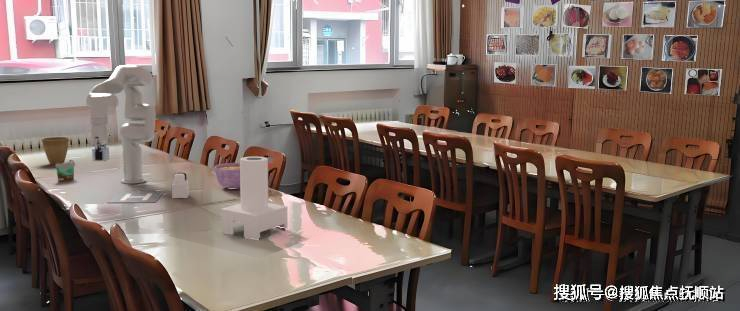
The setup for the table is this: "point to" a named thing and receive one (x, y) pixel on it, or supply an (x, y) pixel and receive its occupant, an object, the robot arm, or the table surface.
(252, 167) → the paper towel holder
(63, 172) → the food container
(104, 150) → the blue cube
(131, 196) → the board
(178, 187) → the medicine bottle
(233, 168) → the bowl of food
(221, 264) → the table surface
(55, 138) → the plant pot
